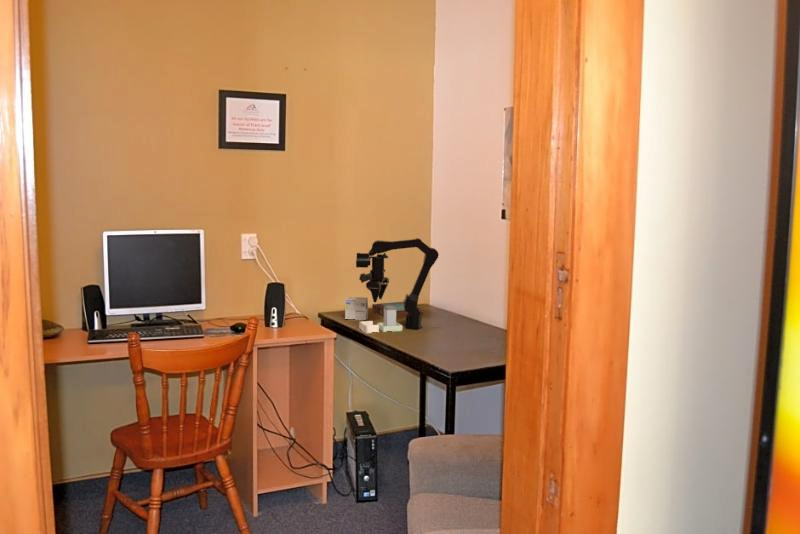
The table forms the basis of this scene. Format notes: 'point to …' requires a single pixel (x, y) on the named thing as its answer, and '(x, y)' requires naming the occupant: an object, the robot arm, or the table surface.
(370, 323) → the bay
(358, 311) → the light bulb box
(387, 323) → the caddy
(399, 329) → the tray
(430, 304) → the table surface
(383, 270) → the robot arm
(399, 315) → the book
